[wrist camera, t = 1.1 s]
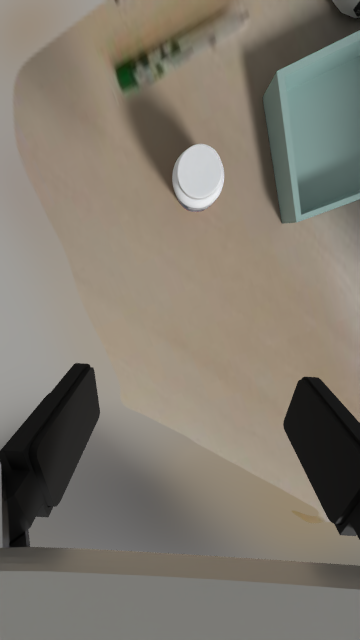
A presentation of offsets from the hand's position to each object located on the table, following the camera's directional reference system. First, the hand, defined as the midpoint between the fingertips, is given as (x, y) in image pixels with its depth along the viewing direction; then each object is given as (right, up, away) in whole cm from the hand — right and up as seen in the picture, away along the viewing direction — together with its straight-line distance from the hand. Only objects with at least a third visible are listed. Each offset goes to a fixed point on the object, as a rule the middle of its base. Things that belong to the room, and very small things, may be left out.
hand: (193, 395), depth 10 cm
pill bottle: (+1, +20, +17) cm, 26 cm away
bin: (+17, +24, +14) cm, 32 cm away
